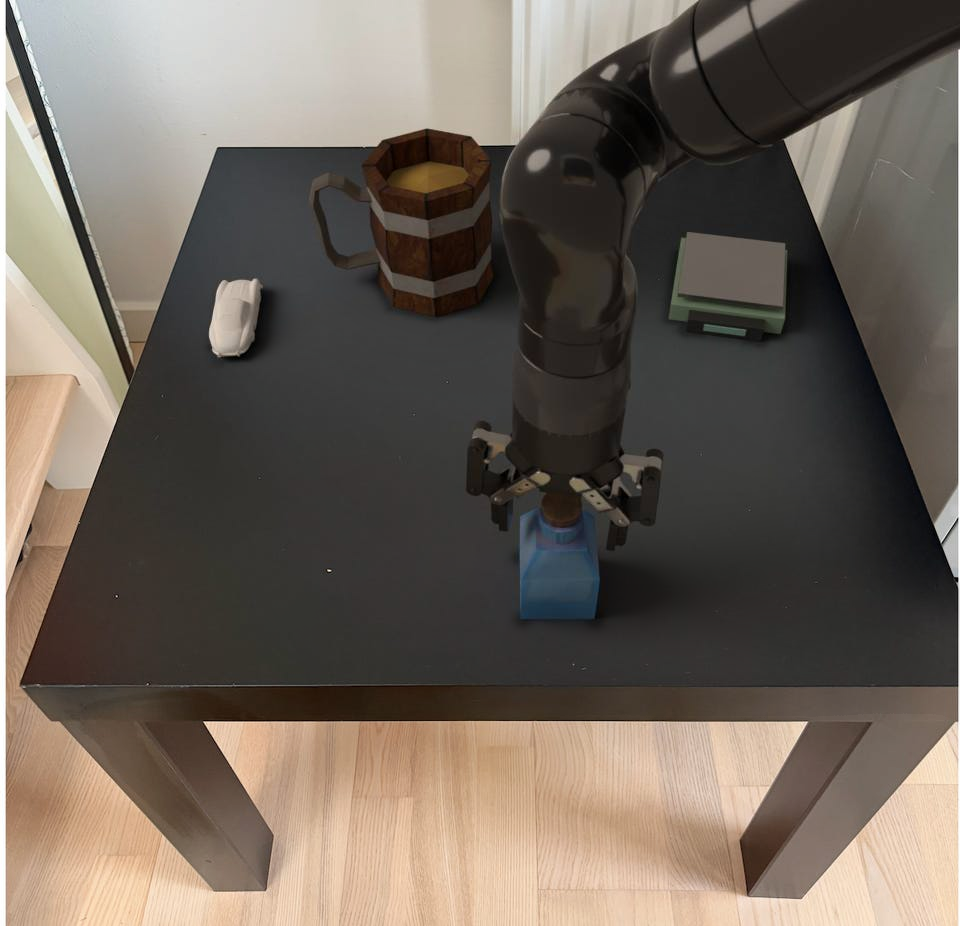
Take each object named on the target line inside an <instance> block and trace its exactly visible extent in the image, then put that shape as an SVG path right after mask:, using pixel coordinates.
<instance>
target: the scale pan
mask: <svg viewBox="0 0 960 926" xmlns="http://www.w3.org/2000/svg"><path fill="white" fill-rule="evenodd" d="M685 238H686V241H685V248H684V255H683V262H682V268H681V275H680V282H679V289H678V295H677V297H682V298H690V299H698V300H705V301H713V302H721V303H729V304H736V305H744V306H752V307H760V308H768V309H775V310H782V308H783V294H784V267H785V250H786V243H785V242H777V241H768V240H760V239H753V238H752V239H751V238H743V237H734V236H725V235H717V234H709V233H708V234H707V233H699V232H689V231H686V236H685Z"/></svg>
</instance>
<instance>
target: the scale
mask: <svg viewBox="0 0 960 926" xmlns="http://www.w3.org/2000/svg"><path fill="white" fill-rule="evenodd" d="M685 241H686V237H681V239H680V245H679V250H678V256H677V262H676V269H675V275H674V281H673V289H672V294H671V300H670V308H669V314H668V320H671V321H680V322H685V323H686V326H685V332H686V333H695V334H703V335H709V336H710V335H711V336H715V337H716V336H717V337H724V338H725V337H726V338H730V339H731V338H732V339H738V340H739V339H740V340H747V341H753V342H762V340H763V336H764V334H765V333H770V334H777V335H781V333H782V330H783V327H784V324H785V320H786V303H787V278H788V277H787V276H788V249H785V267H784V294H783V308H782V310H775V309H768V308H760V307H752V306H744V305H736V304H729V303H721V302H713V301H705V300H698V299H690V298H682V297H677V295H678V289H679V282H680V275H681V268H682V262H683V255H684V248H685Z"/></svg>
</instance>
